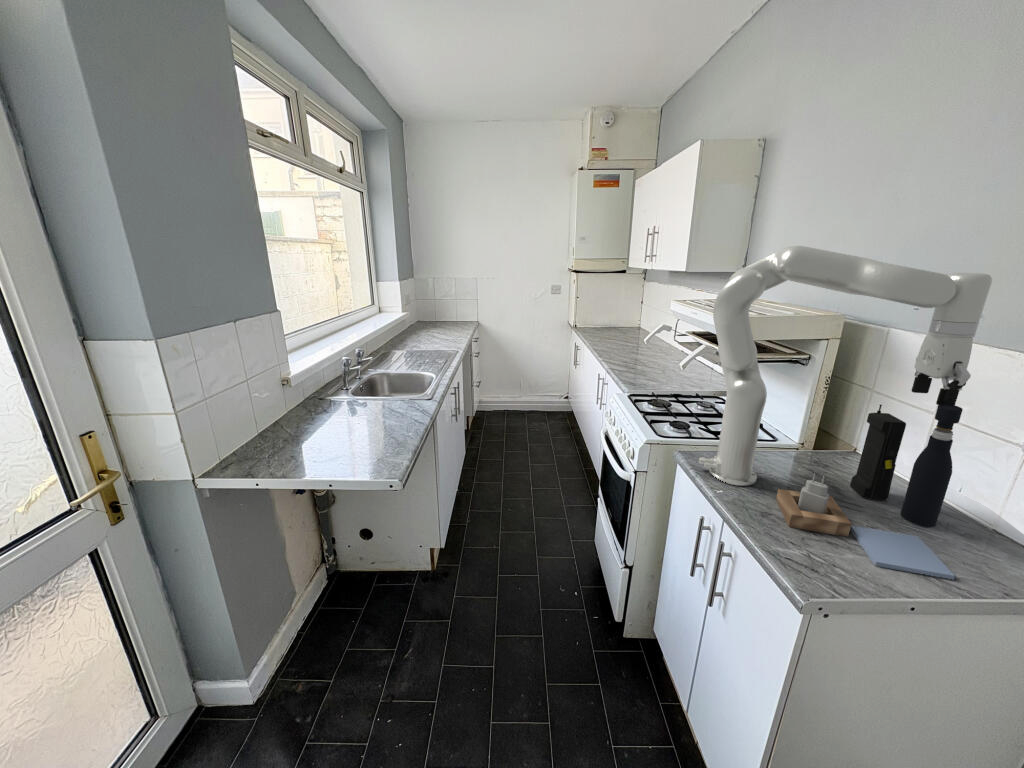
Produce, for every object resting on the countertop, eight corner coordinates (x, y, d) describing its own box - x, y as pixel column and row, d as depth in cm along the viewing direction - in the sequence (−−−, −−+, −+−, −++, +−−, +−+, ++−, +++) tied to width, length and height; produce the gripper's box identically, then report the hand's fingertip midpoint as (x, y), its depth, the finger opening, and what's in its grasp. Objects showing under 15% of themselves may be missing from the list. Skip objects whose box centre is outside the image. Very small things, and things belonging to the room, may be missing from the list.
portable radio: (891, 503, 108) (918, 415, 101) (865, 501, 110) (889, 414, 102) (873, 487, 116) (896, 404, 108) (848, 485, 117) (870, 403, 110)
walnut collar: (788, 526, 100) (791, 514, 99) (775, 500, 111) (778, 488, 109) (847, 536, 96) (851, 523, 95) (828, 508, 107) (831, 496, 106)
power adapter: (798, 510, 106) (807, 468, 103) (823, 519, 102) (834, 476, 99) (795, 515, 104) (804, 473, 101) (820, 524, 100) (831, 481, 97)
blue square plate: (875, 565, 87) (876, 561, 87) (849, 528, 99) (850, 525, 98) (953, 580, 83) (955, 575, 83) (916, 539, 95) (918, 536, 94)
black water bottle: (893, 512, 105) (922, 403, 95) (917, 509, 105) (948, 400, 96) (918, 528, 99) (952, 413, 89) (943, 525, 99) (980, 411, 89)
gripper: (910, 322, 103) (893, 387, 108) (957, 334, 87) (934, 409, 92) (948, 323, 101) (928, 389, 106) (1003, 335, 85) (977, 412, 90)
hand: (931, 398), depth 99 cm, fingers open, 9 cm apart
